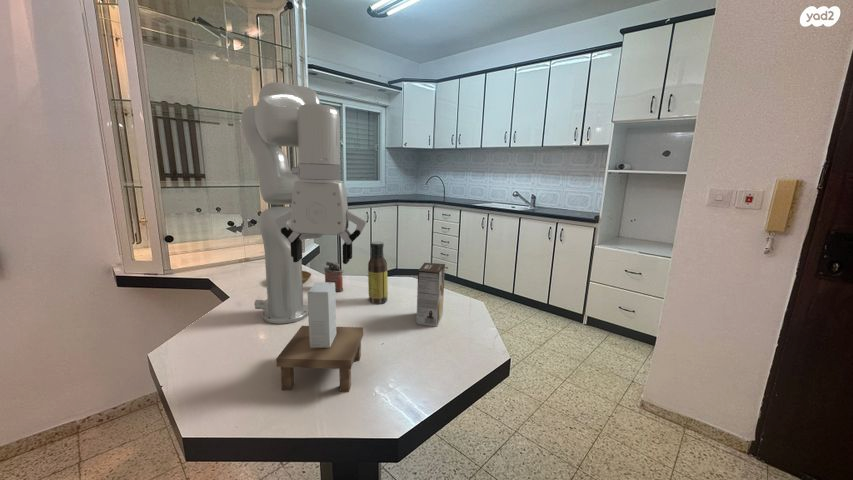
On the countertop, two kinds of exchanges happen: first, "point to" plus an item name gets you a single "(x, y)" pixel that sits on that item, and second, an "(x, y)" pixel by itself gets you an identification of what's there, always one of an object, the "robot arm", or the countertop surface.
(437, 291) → the coffee box
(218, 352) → the countertop surface
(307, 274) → the plant saucer
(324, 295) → the skincare box
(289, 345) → the walnut stool
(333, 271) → the lighter
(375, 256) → the sauce bottle
